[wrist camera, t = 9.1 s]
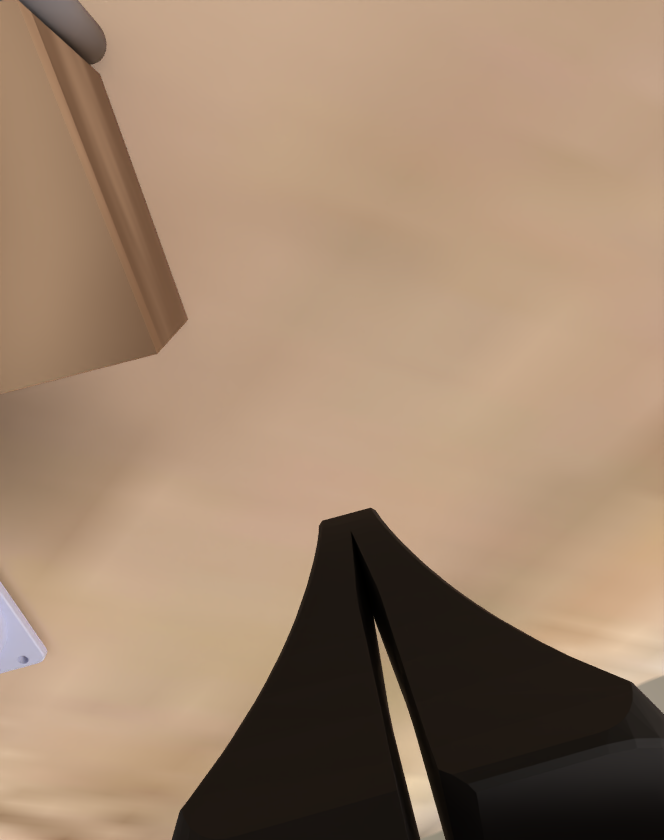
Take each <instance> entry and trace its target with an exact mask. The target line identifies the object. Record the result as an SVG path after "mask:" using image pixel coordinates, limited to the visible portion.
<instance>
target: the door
mask: <svg viewBox="0 0 664 840" xmlns="http://www.w3.org/2000/svg"><path fill="white" fill-rule="evenodd" d="M0 1H2V0H0ZM19 1H20V2H21V3H22V4H23V5H24V6H25V7H26V8H27V9H29V10H30V11H31V12H32V13H33V14H34V15H35V16H36V17H37V18H38V19H40V20H41V21H42V22H43V23H44V24H45V25H46V26H47V27H48V28H49V29H51V30H52V31H53V32H54V33H55V34H56V35H57V36H58V37H59V38H60V39H62V40H63V41H64V42H65V43H66V44H67V45H68V46H69V47H70V48H72V49H73V50H74V51H75V52H76V53H77V54H78V55H79V56H80V57H81V58H83V59H84V60H85V61H86V62H87V63H88V64H94V63H97V62H99V61H100V60H101V59H102V58H103V56H104V54H105V51H106V39H105V35H104V33H103V31H102V29H101V27H100V26H99V25H98V24H97V22H96V21H95V20H94V19H93V18H92V16H91V15H90V14H89V13H88V12H87V11H86V9H85V8H84V7H83V6H82V5H81V3H80V2H79V1H78V0H19Z"/></svg>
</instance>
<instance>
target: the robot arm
mask: <svg viewBox="0 0 664 840" xmlns="http://www.w3.org/2000/svg"><path fill="white" fill-rule="evenodd" d="M373 616H374V617H373ZM374 619H375V622H376V624H377V627H378V630H379V632H380V635H381V638H382V641H383V643H384V646H385V649H386V651H387V654H388V657H389V659H390V662H391V665H392V667H393V670H394V673H395V675H396V678H397V681H398V683H399V686H400V689H401V691H402V694H403V697H404V699H405V702H406V705H407V708H408V711H409V714H410V717H411V720H412V723H413V726H414V730H415V733H416V737H417V740H418V744H419V747H420V751H421V754H422V758H423V761H424V765H425V768H426V772H427V775H428V779H429V783H430V786H431V790H432V793H433V797H434V800H435V804H436V807H437V811H438V814H439V818H440V822H441V825H442V829H443V832H444V836H445V839H446V840H664V714H663V713H662V712H661V711H660V710H659V709H658V708H657V707H656V706H655V705H654V704H653V703H652V702H651V701H650V700H649V699H648V698H647V697H646V696H645V695H644V694H643V693H642V692H641V691H640V690H639V689H638V688H637V687H636V686H635V685H634V684H633V683H632V682H630V681H628V680H625V679H623V678H620V677H618V676H616V675H613V674H611V673H608V672H606V671H604V670H601V669H599V668H596V667H594V666H592V665H589V664H587V663H584V662H582V661H580V660H577V659H575V658H572V657H570V656H568V655H566V654H564V653H562V652H560V651H558V650H556V649H554V648H552V647H550V646H548V645H546V644H544V643H542V642H540V641H538V640H536V639H535V638H533V637H531V636H529V635H527V634H526V633H524V632H522V631H520V630H519V629H517V628H515V627H513V626H512V625H510V624H508V623H506V622H504V621H503V620H501V619H499V618H497V617H496V616H494V615H493V614H491V613H490V612H488V611H487V610H485V609H483V608H482V607H480V606H479V605H477V604H476V603H474V602H473V601H471V600H470V599H469V598H467V597H466V596H464V595H463V594H462V593H460V592H459V591H457V590H456V589H455V588H453V587H452V586H451V585H450V584H448V583H447V582H446V581H444V580H443V579H442V578H441V577H440V576H438V575H437V574H436V573H435V572H434V571H432V570H431V569H430V568H429V567H428V566H426V565H425V564H424V563H423V562H422V561H421V560H420V559H419V558H418V557H417V556H416V555H415V554H413V553H412V552H411V551H410V550H409V549H408V548H407V547H406V546H405V545H404V544H403V543H402V542H401V541H400V540H399V539H398V538H397V537H396V535H395V534H394V533H393V532H392V531H391V530H390V529H389V528H388V526H387V525H386V524H385V523H384V521H383V520H382V519H381V518H380V516H379V515H378V513H377V512H376V510H374V509H372V508H368V509H364V510H361V511H357V512H353V513H349V514H346V515H342V516H338V517H335V518H331V519H327V520H324V521H322V522H321V524H320V525H319V535H318V542H317V548H316V552H315V557H314V562H313V565H312V569H311V573H310V577H309V580H308V584H307V587H306V590H305V593H304V596H303V599H302V602H301V605H300V608H299V610H298V613H297V616H296V619H295V621H294V624H293V626H292V629H291V631H290V633H289V636H288V638H287V640H286V643H285V645H284V647H283V649H282V651H281V654H280V656H279V658H278V660H277V662H276V664H275V666H274V667H273V669H272V671H271V673H270V675H269V677H268V679H267V681H266V683H265V685H264V687H263V688H262V690H261V692H260V694H259V696H258V697H257V699H256V701H255V703H254V704H253V706H252V707H251V709H250V711H249V712H248V714H247V715H246V717H245V719H244V720H243V722H242V723H241V725H240V727H239V728H238V730H237V731H236V733H235V735H234V736H233V738H232V739H231V741H230V743H229V744H228V746H227V747H226V748H225V750H224V751H223V753H222V754H221V756H220V757H219V759H218V760H217V761H216V763H215V764H214V765H213V767H212V768H211V770H210V771H209V772H208V774H207V775H206V776H205V778H204V779H203V781H202V782H201V783H200V785H199V786H198V787H197V789H196V790H195V792H194V793H193V794H192V796H191V797H190V798H189V800H188V801H187V802H186V804H185V805H184V806H183V808H182V809H181V810H180V812H179V816H178V819H177V823H176V826H175V830H174V834H173V837H172V840H420V837H419V833H418V829H417V825H416V821H415V817H414V813H413V809H412V805H411V801H410V797H409V793H408V789H407V785H406V781H405V777H404V773H403V769H402V765H401V761H400V757H399V752H398V748H397V744H396V740H395V736H394V732H393V728H392V723H391V718H390V713H389V708H388V702H387V696H386V690H385V684H384V677H383V671H382V665H381V659H380V653H379V647H378V641H377V635H376V629H375V623H374ZM46 654H47V649H46V647H45V646H44V644H43V643H42V641H41V640H40V638H39V637H38V636H37V634H36V633H35V631H34V630H33V628H32V627H31V625H30V624H29V622H28V621H27V620H26V618H25V617H24V615H23V614H22V612H21V611H20V609H19V608H18V606H17V605H16V603H15V602H14V601H13V599H12V598H11V596H10V595H9V593H8V592H7V590H6V589H5V587H4V586H3V585H2V583H1V582H0V673H4V672H7V671H11V670H15V669H18V668H22V667H26V666H29V665H33V664H37V663H40V662H42V661H43V660H44V658H45V656H46ZM25 656H26V657H25Z"/></svg>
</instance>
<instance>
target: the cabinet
mask: <svg viewBox="0 0 664 840" xmlns="http://www.w3.org/2000/svg"><path fill="white" fill-rule="evenodd" d="M187 320H188V318H187V316H186V313H185V310H184V307H183V304H182V302H181V299H180V296H179V293H178V290H177V288H176V285H175V282H174V279H173V277H172V274H171V271H170V268H169V265H168V263H167V260H166V257H165V254H164V251H163V249H162V246H161V243H160V240H159V238H158V235H157V232H156V229H155V226H154V224H153V221H152V218H151V215H150V212H149V210H148V207H147V204H146V201H145V199H144V196H143V193H142V190H141V187H140V185H139V182H138V179H137V176H136V173H135V171H134V168H133V165H132V162H131V160H130V157H129V154H128V151H127V148H126V146H125V143H124V140H123V137H122V134H121V132H120V129H119V126H118V123H117V121H116V118H115V115H114V112H113V109H112V107H111V104H110V101H109V98H108V95H107V93H106V90H105V87H104V84H103V82H102V79H101V76H100V74H99V73H98V72H97V71H96V70H95V69H94V68H92V67H91V66H90V65H89V64H88V63H87V62H86V61H85V60H84V59H83V58H81V57H80V56H79V55H78V54H77V53H76V52H75V51H74V50H73V49H72V48H70V47H69V46H68V45H67V44H66V43H65V42H64V41H63V40H62V39H60V38H59V37H58V36H57V35H56V34H55V33H54V32H53V31H52V30H51V29H49V28H48V27H47V26H46V25H45V24H44V23H43V22H42V21H41V20H40V19H38V18H37V17H36V16H35V15H34V14H33V13H32V12H31V11H30V10H29V9H27V8H26V7H25V6H24V5H23V4H22V3H21V2H20V1H19V0H2V1H0V394H3V393H7V392H11V391H15V390H19V389H23V388H27V387H30V386H34V385H38V384H42V383H46V382H50V381H54V380H58V379H61V378H65V377H69V376H73V375H77V374H81V373H85V372H88V371H92V370H96V369H100V368H104V367H108V366H112V365H116V364H119V363H123V362H127V361H131V360H135V359H139V358H143V357H147V356H150V355H154V354H157V353H158V352H159V351H160V350H161V349H162V348H163V347H164V346H165V345H166V343H167V342H168V341H169V340H170V339H171V338H172V337H173V336H174V335H175V334H176V332H177V331H178V330H179V329H180V328H181V327H182V326H183V325H184V324H185V322H186V321H187Z"/></svg>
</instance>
